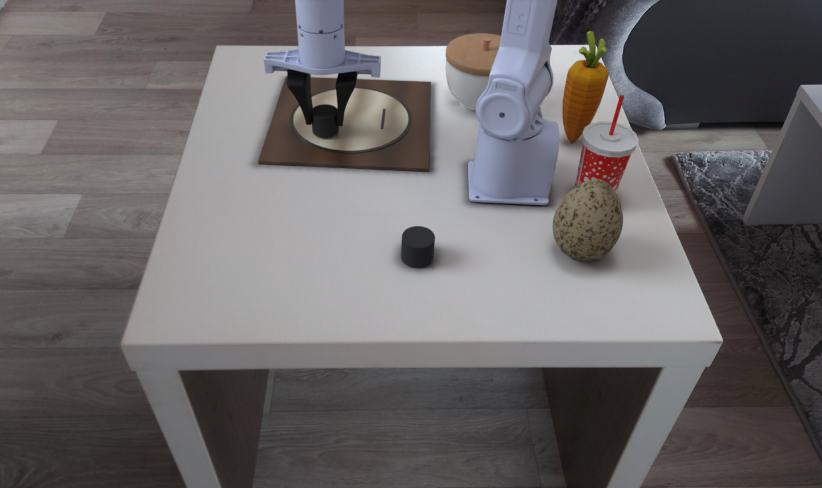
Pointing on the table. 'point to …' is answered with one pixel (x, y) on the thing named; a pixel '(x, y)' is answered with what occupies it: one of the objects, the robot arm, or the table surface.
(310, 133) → the face board
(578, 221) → the decorative egg
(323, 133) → the eye puck
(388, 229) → the table surface
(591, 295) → the table surface
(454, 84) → the trinket box
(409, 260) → the eye puck
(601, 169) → the beverage cup
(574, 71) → the carrot
